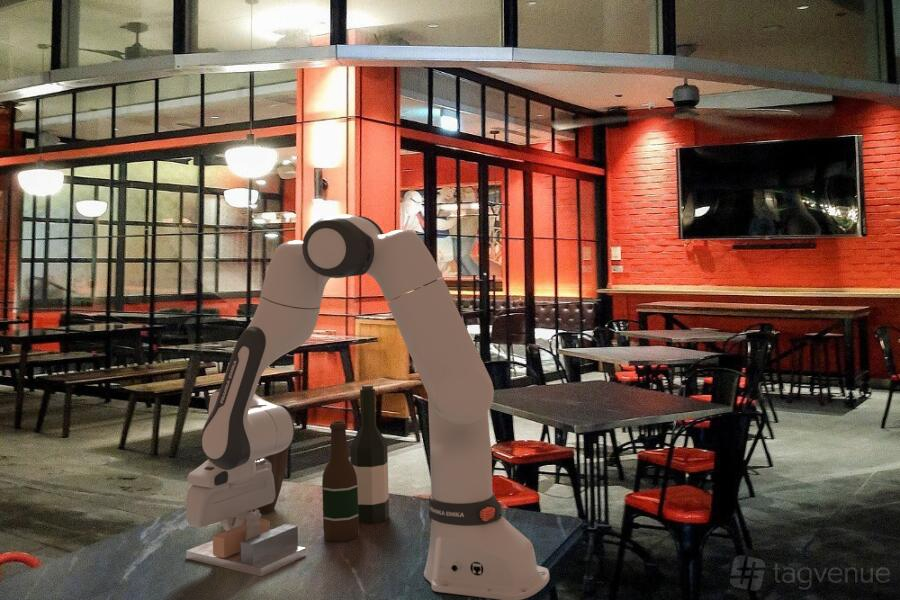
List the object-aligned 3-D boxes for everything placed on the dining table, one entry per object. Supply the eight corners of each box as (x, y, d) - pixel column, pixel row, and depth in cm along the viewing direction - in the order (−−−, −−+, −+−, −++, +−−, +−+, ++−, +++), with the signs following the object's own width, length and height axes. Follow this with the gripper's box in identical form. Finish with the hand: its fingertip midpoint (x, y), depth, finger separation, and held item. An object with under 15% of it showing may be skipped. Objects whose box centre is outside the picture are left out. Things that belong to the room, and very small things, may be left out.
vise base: (306, 555, 146) (305, 527, 146) (261, 576, 136) (260, 546, 136) (233, 539, 156) (232, 513, 156) (186, 558, 146) (185, 530, 146)
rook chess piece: (253, 558, 141) (252, 515, 141) (237, 554, 143) (235, 512, 143) (270, 550, 145) (269, 509, 145) (254, 547, 147) (253, 506, 147)
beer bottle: (352, 543, 152) (349, 426, 152) (316, 541, 154) (313, 425, 154) (364, 531, 160) (361, 419, 160) (330, 529, 162) (327, 418, 161)
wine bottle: (396, 515, 170) (393, 384, 170) (373, 525, 163) (370, 388, 163) (367, 510, 175) (364, 382, 174) (344, 520, 168) (341, 386, 167)
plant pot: (289, 499, 186) (287, 434, 186) (293, 516, 172) (291, 446, 172) (226, 505, 182) (224, 439, 182) (225, 523, 168) (223, 452, 168)
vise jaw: (270, 538, 151) (269, 520, 151) (224, 558, 141) (223, 538, 141) (259, 536, 153) (258, 518, 152) (213, 555, 142) (212, 536, 142)
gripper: (259, 455, 158) (260, 520, 159) (179, 477, 141) (181, 550, 141) (281, 458, 155) (283, 524, 155) (203, 481, 137) (204, 556, 138)
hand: (234, 537), depth 148 cm, fingers closed, pressing on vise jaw
